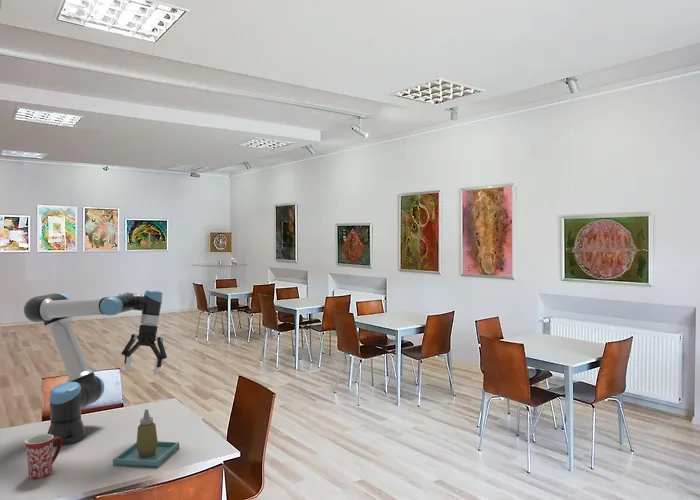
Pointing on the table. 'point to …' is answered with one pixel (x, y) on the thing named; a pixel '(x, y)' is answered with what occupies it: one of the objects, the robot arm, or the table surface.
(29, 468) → the mug
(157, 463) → the tray
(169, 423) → the table surface
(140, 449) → the squeeze bottle
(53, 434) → the robot arm
